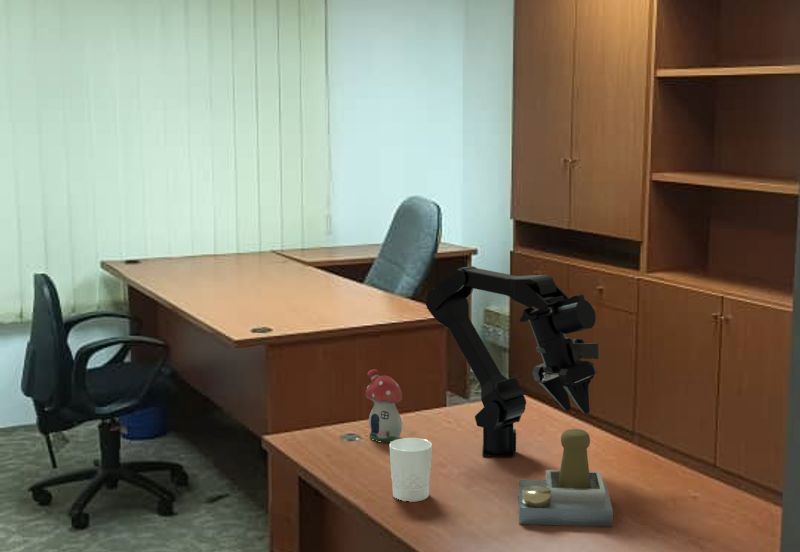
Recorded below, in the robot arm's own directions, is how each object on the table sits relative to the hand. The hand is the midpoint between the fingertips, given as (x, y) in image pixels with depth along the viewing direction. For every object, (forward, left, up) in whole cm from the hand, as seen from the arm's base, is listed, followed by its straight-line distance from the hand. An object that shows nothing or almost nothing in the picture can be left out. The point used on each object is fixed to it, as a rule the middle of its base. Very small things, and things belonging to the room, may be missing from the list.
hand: (577, 411), depth 209 cm
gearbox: (-4, -22, -12) cm, 25 cm away
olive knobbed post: (-2, -20, -9) cm, 22 cm away
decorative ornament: (-41, +17, -12) cm, 46 cm away
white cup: (-32, -17, -12) cm, 38 cm away
